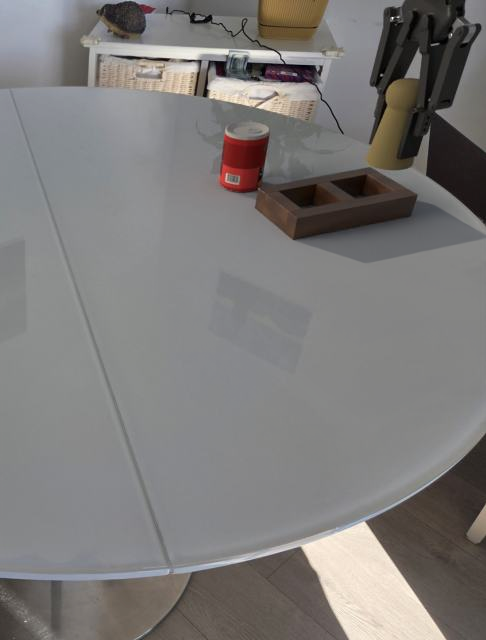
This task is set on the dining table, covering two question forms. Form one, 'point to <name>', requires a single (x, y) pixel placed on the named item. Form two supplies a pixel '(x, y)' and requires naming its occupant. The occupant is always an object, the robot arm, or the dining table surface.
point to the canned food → (244, 156)
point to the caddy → (334, 202)
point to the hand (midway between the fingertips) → (392, 149)
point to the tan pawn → (393, 126)
